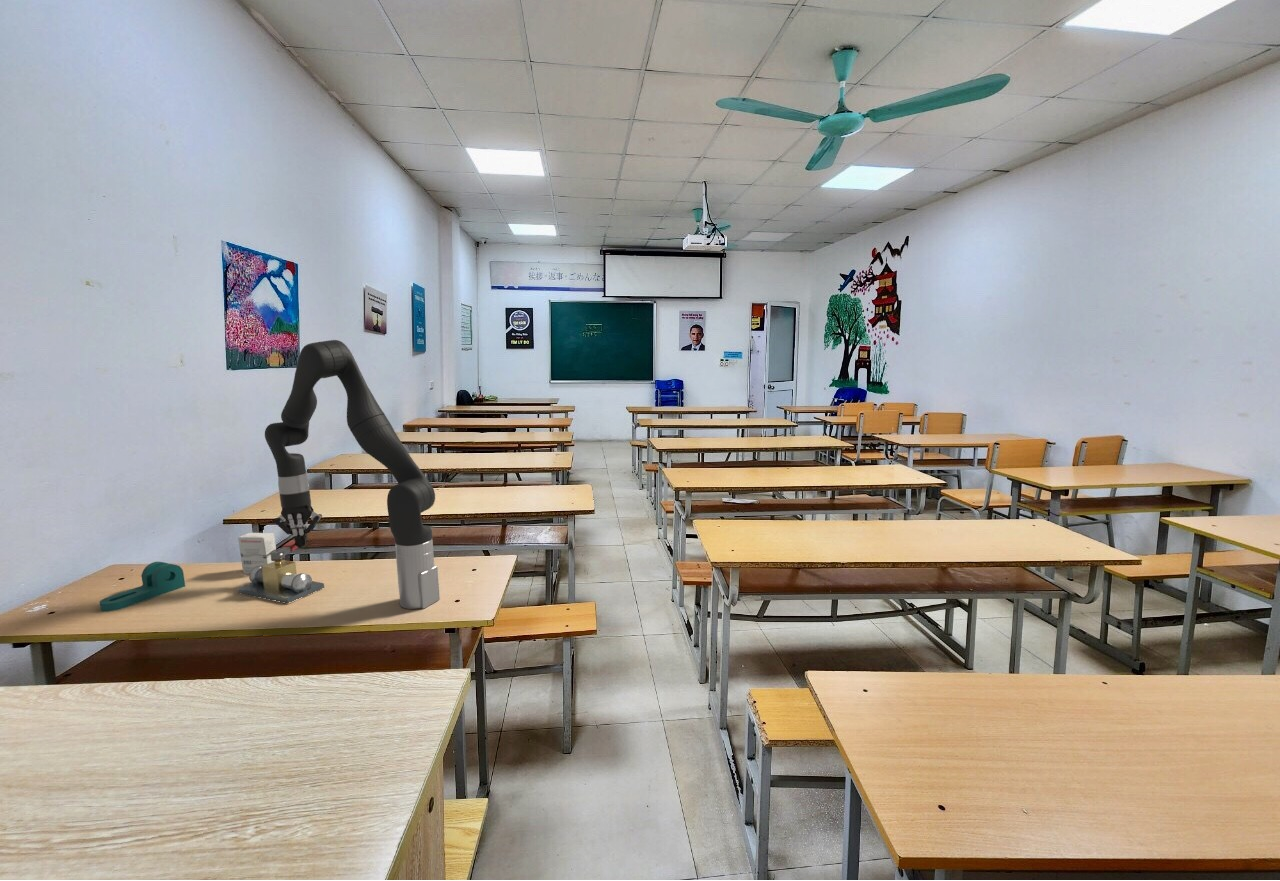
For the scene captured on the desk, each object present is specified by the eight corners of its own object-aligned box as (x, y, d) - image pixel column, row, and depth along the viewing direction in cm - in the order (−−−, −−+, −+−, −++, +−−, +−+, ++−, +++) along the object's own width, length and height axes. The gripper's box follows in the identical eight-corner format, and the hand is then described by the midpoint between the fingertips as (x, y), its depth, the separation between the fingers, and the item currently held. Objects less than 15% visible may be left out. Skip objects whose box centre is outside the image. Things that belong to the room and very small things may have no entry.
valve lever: (301, 545, 172) (301, 539, 172) (281, 560, 160) (280, 554, 160) (290, 546, 172) (289, 540, 171) (269, 561, 159) (268, 555, 159)
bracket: (170, 583, 169) (166, 558, 168) (185, 587, 167) (181, 561, 165) (95, 609, 153) (90, 581, 151) (110, 613, 150) (105, 585, 149)
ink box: (279, 568, 179) (275, 532, 178) (268, 574, 175) (263, 537, 173) (254, 567, 180) (249, 531, 178) (241, 573, 175) (237, 536, 174)
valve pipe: (324, 588, 164) (321, 557, 163) (288, 604, 154) (284, 571, 152) (275, 578, 171) (272, 549, 170) (238, 593, 161) (234, 562, 160)
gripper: (263, 494, 163) (271, 553, 165) (312, 491, 164) (320, 549, 167) (276, 488, 170) (284, 544, 173) (323, 485, 171) (330, 541, 174)
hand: (302, 546), depth 170 cm, fingers closed
